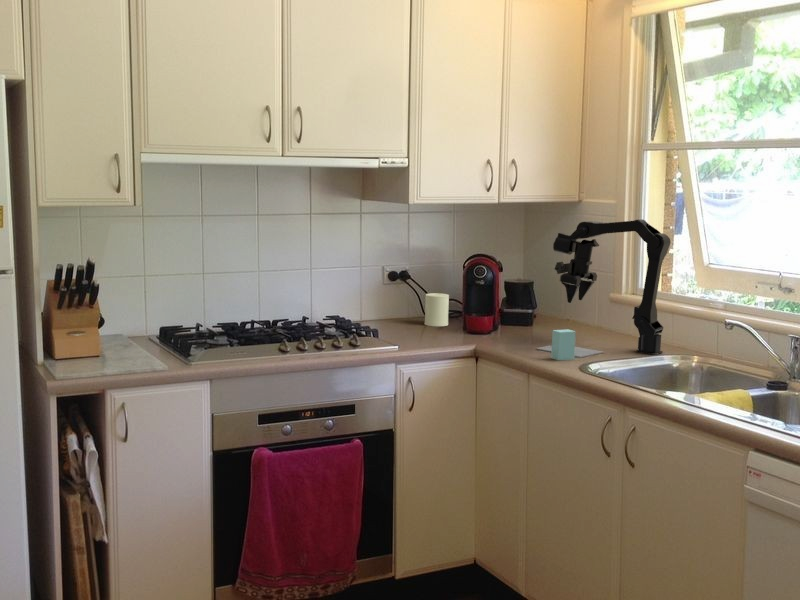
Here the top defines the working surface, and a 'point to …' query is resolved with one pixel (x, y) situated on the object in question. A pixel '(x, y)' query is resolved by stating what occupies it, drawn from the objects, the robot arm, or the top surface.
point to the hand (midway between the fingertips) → (574, 301)
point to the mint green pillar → (563, 344)
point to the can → (436, 309)
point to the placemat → (578, 351)
